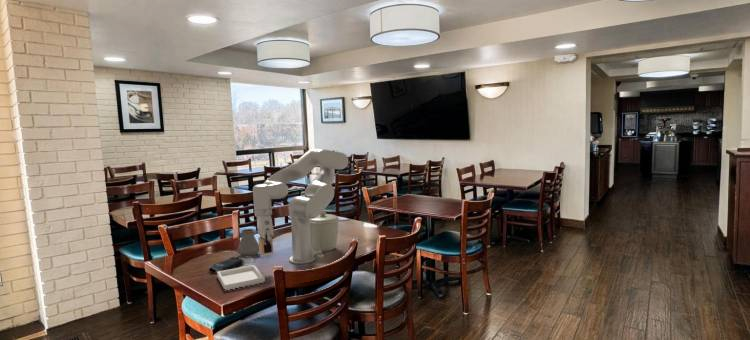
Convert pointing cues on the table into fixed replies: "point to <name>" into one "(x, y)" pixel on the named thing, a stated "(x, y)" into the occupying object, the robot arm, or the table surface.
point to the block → (261, 245)
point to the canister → (324, 232)
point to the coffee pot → (248, 244)
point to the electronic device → (226, 264)
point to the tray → (240, 277)
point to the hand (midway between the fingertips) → (266, 250)
